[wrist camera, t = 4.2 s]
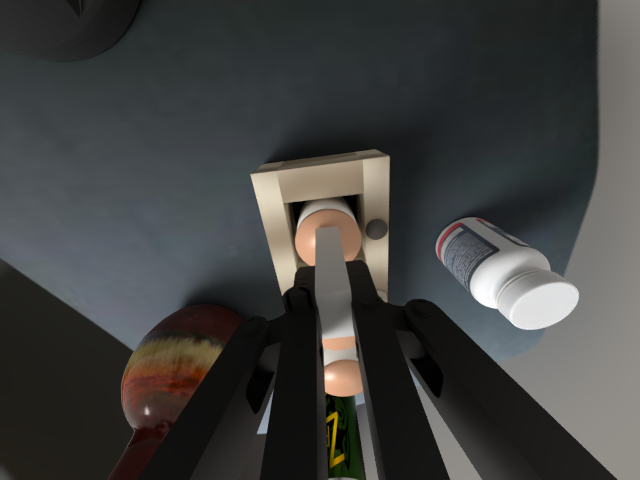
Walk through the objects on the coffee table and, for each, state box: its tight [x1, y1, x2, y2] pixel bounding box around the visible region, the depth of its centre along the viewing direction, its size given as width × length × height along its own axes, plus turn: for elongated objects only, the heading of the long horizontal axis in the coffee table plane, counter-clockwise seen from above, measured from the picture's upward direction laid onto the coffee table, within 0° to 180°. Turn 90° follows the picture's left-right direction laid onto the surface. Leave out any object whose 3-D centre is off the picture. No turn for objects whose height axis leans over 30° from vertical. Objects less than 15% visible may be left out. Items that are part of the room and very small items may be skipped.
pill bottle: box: [436, 217, 579, 330], centre depth 18 cm, size 5×5×9 cm
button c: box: [323, 346, 363, 397], centre depth 22 cm, size 5×5×4 cm
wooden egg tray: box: [251, 149, 390, 303], centre depth 22 cm, size 23×9×4 cm, turn 7°
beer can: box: [325, 392, 366, 480], centre depth 26 cm, size 5×5×12 cm
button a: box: [295, 196, 362, 266], centre depth 18 cm, size 5×5×4 cm
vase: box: [107, 304, 244, 480], centre depth 20 cm, size 11×11×15 cm
